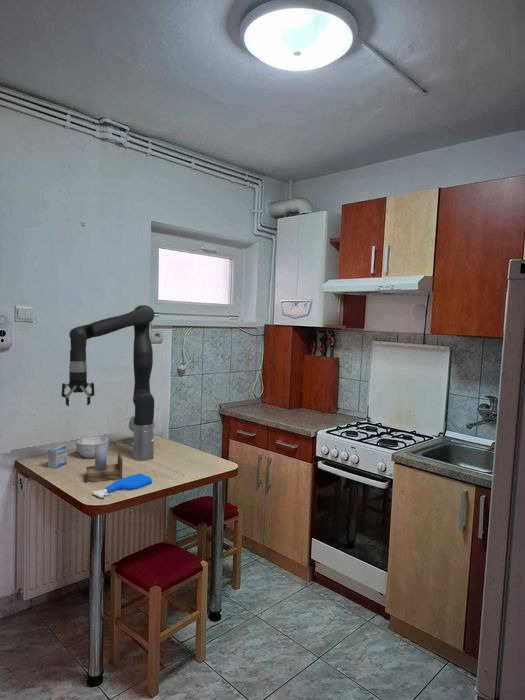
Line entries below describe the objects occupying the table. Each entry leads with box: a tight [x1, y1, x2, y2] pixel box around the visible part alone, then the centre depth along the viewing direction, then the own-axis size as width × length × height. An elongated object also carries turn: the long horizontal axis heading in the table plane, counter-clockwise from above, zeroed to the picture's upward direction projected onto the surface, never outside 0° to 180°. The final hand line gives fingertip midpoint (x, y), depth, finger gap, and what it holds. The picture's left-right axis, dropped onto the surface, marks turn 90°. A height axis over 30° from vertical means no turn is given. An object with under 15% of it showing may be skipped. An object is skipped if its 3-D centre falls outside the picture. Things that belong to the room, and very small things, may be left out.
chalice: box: [128, 415, 156, 447], centre depth 260 cm, size 14×14×15 cm
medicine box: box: [47, 444, 68, 469], centre depth 220 cm, size 8×4×9 cm, turn 168°
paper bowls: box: [75, 436, 110, 459], centre depth 237 cm, size 15×15×8 cm
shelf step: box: [86, 452, 123, 483], centre depth 205 cm, size 14×10×9 cm
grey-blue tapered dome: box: [94, 444, 107, 470], centre depth 205 cm, size 5×5×10 cm
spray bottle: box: [92, 473, 153, 499], centre depth 193 cm, size 3×11×24 cm
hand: (78, 405), depth 220 cm, fingers open, 8 cm apart
